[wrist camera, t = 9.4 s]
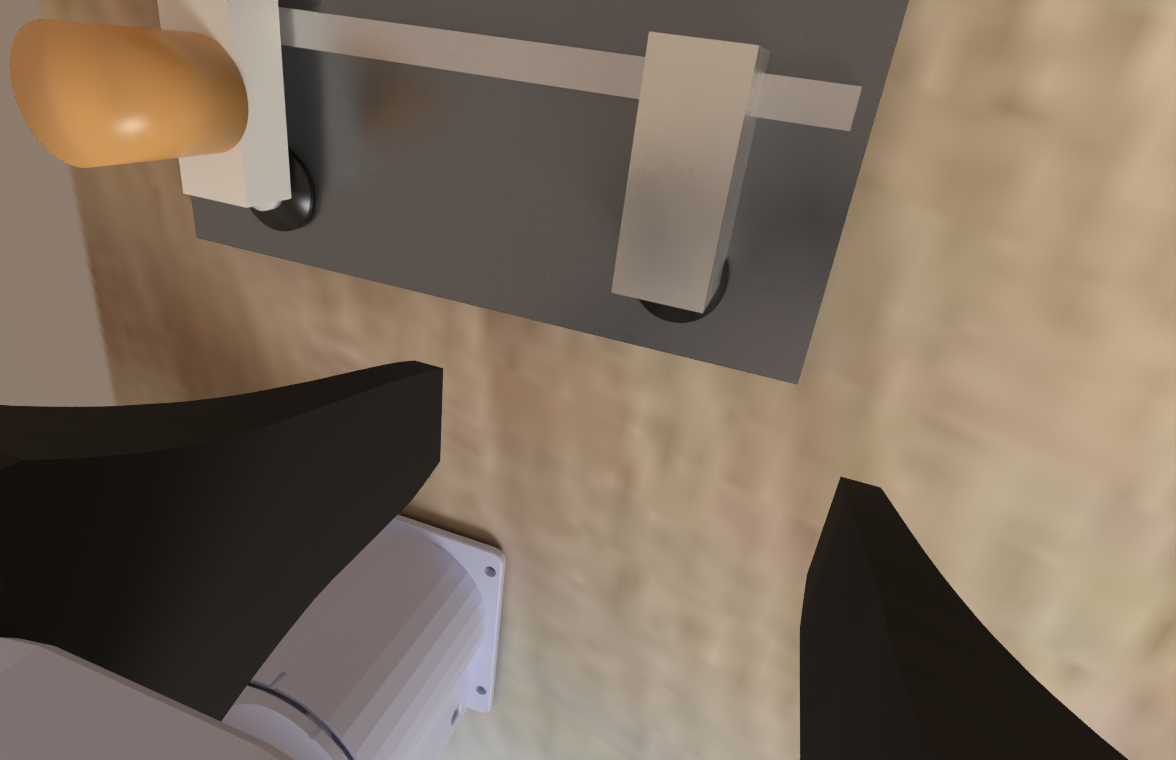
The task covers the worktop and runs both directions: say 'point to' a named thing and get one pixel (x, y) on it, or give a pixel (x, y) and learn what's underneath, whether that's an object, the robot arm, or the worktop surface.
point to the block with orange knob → (165, 95)
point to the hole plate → (582, 160)
